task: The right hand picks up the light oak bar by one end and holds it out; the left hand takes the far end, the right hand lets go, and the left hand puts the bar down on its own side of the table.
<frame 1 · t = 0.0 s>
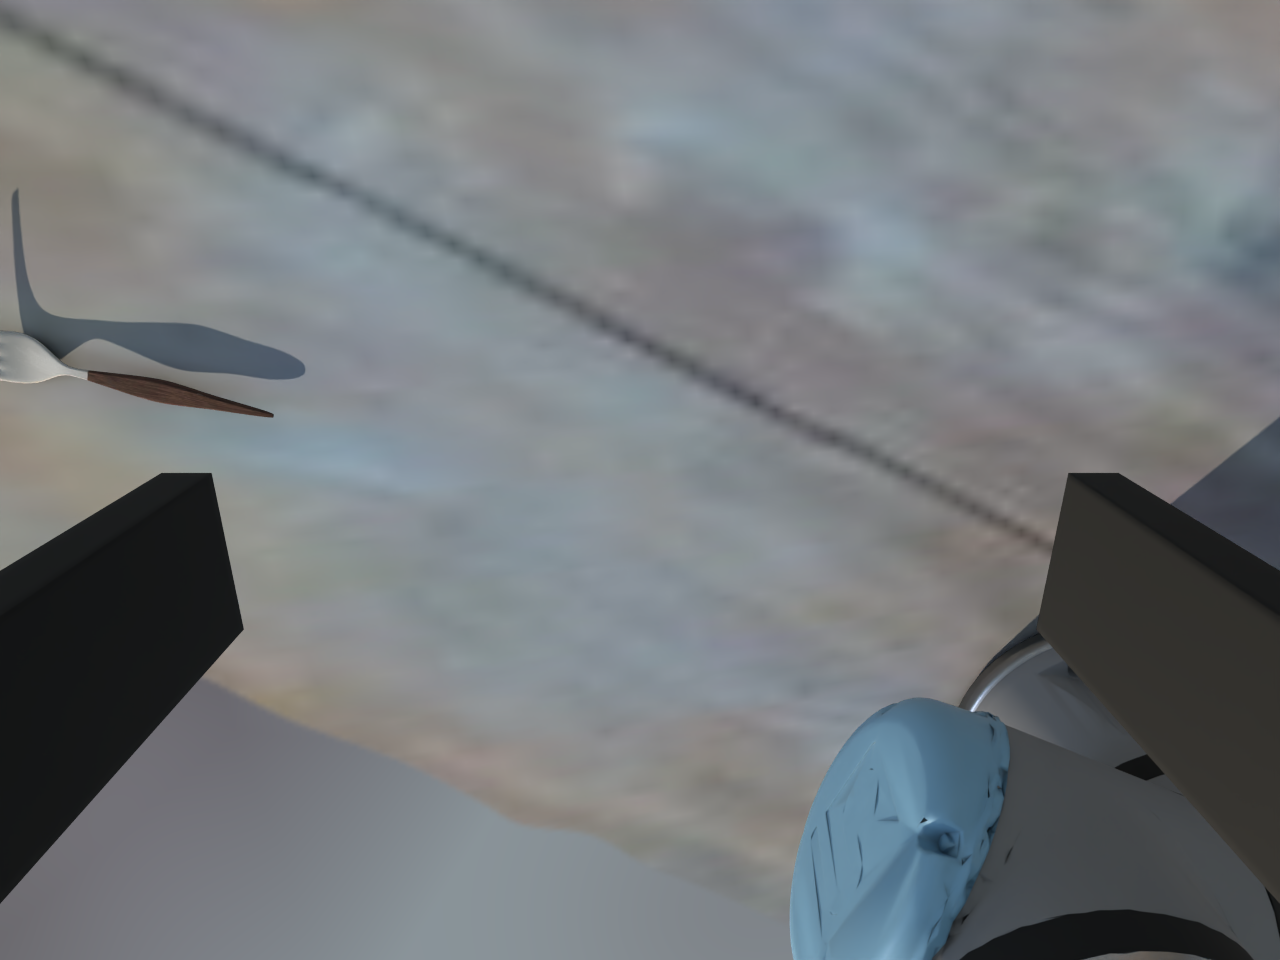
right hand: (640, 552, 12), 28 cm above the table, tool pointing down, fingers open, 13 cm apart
fork: (120, 377, 40), on the table
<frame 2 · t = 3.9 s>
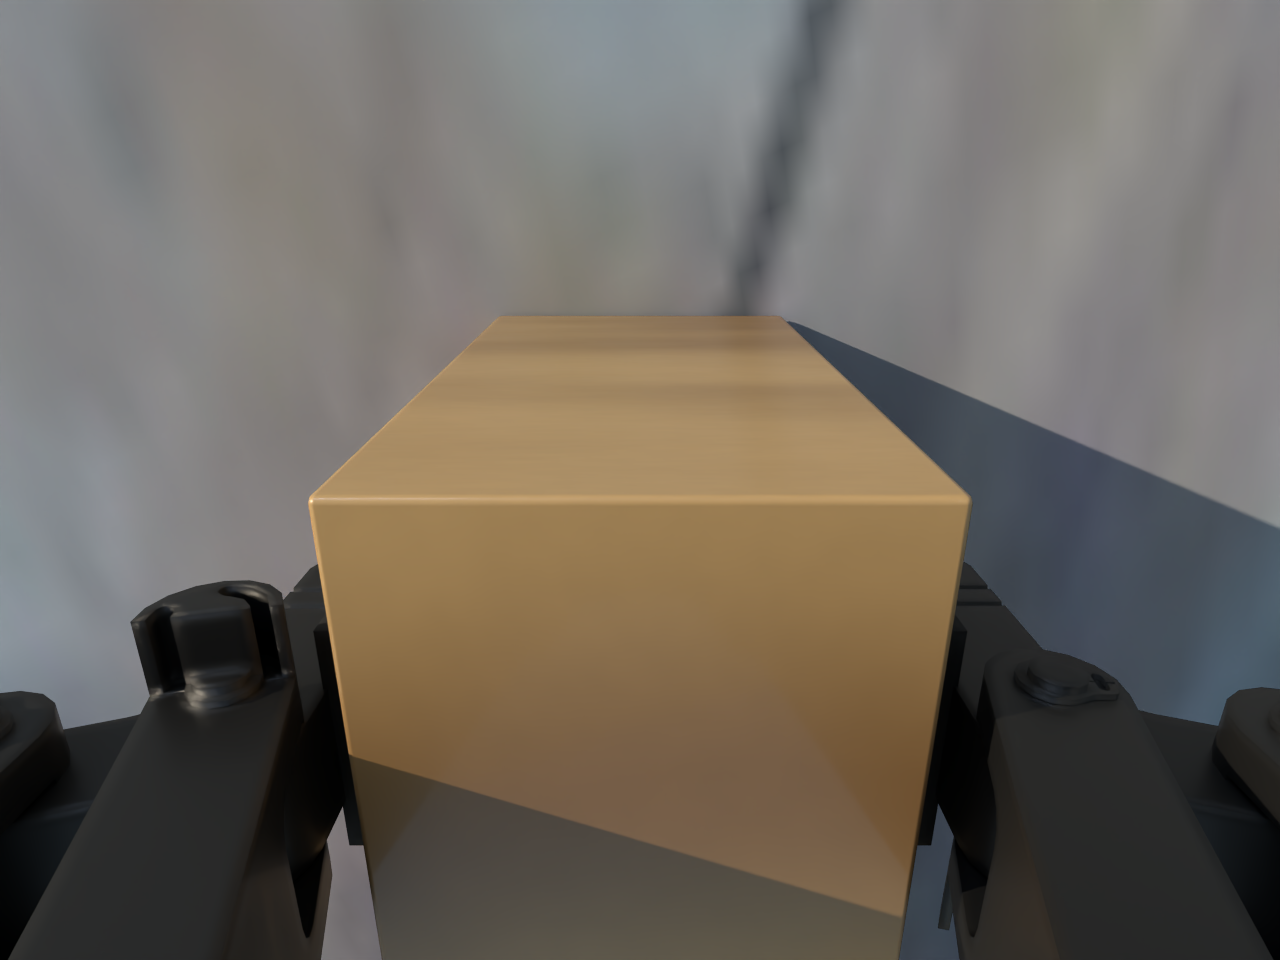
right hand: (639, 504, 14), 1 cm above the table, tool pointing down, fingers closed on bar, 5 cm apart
bar: (640, 830, 18), on the table, touching right hand
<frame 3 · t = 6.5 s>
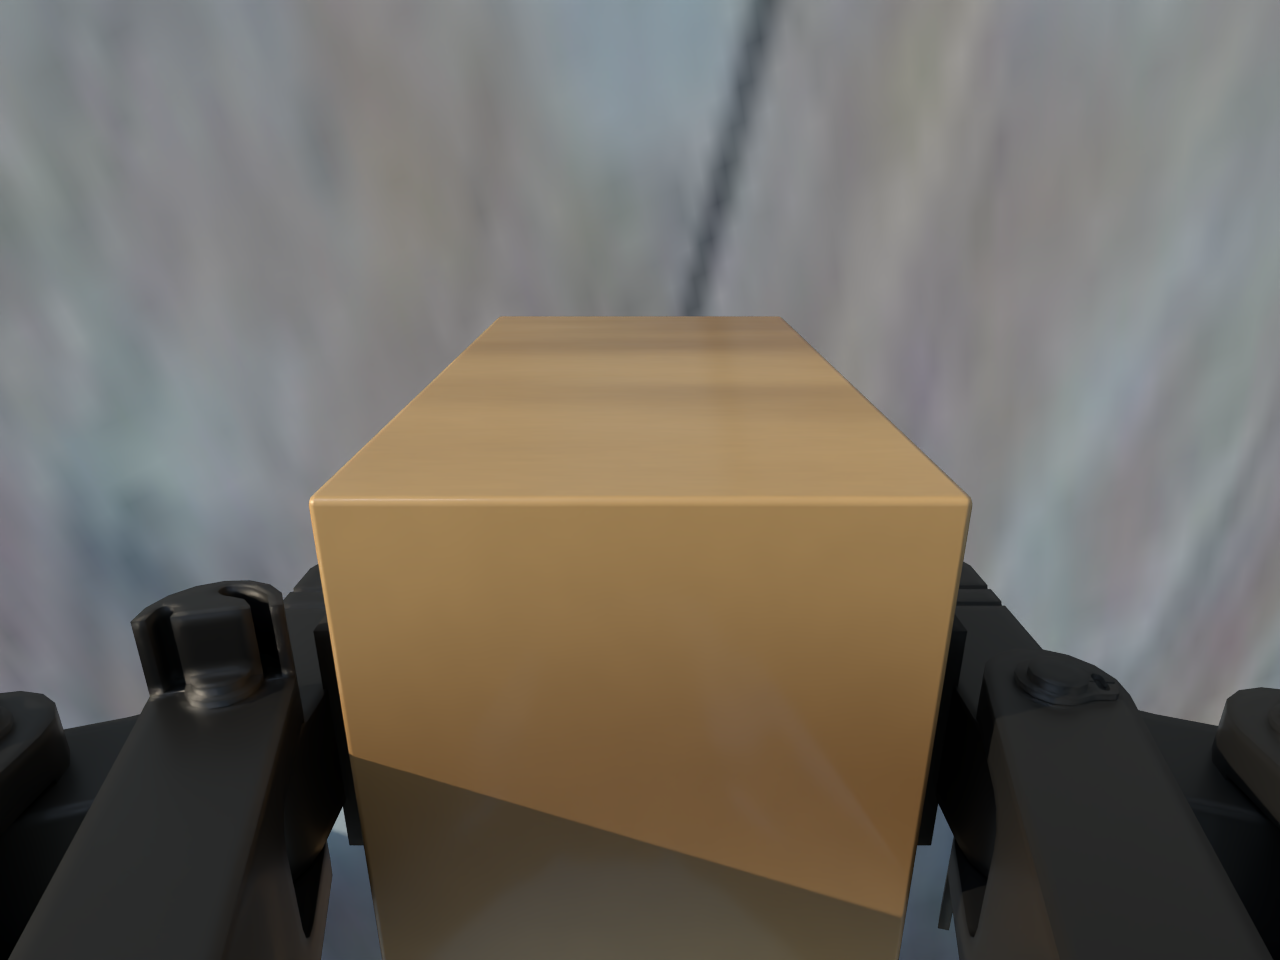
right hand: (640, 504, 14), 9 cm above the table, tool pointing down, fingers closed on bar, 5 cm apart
bar: (640, 830, 18), point 8 cm above the table, touching right hand
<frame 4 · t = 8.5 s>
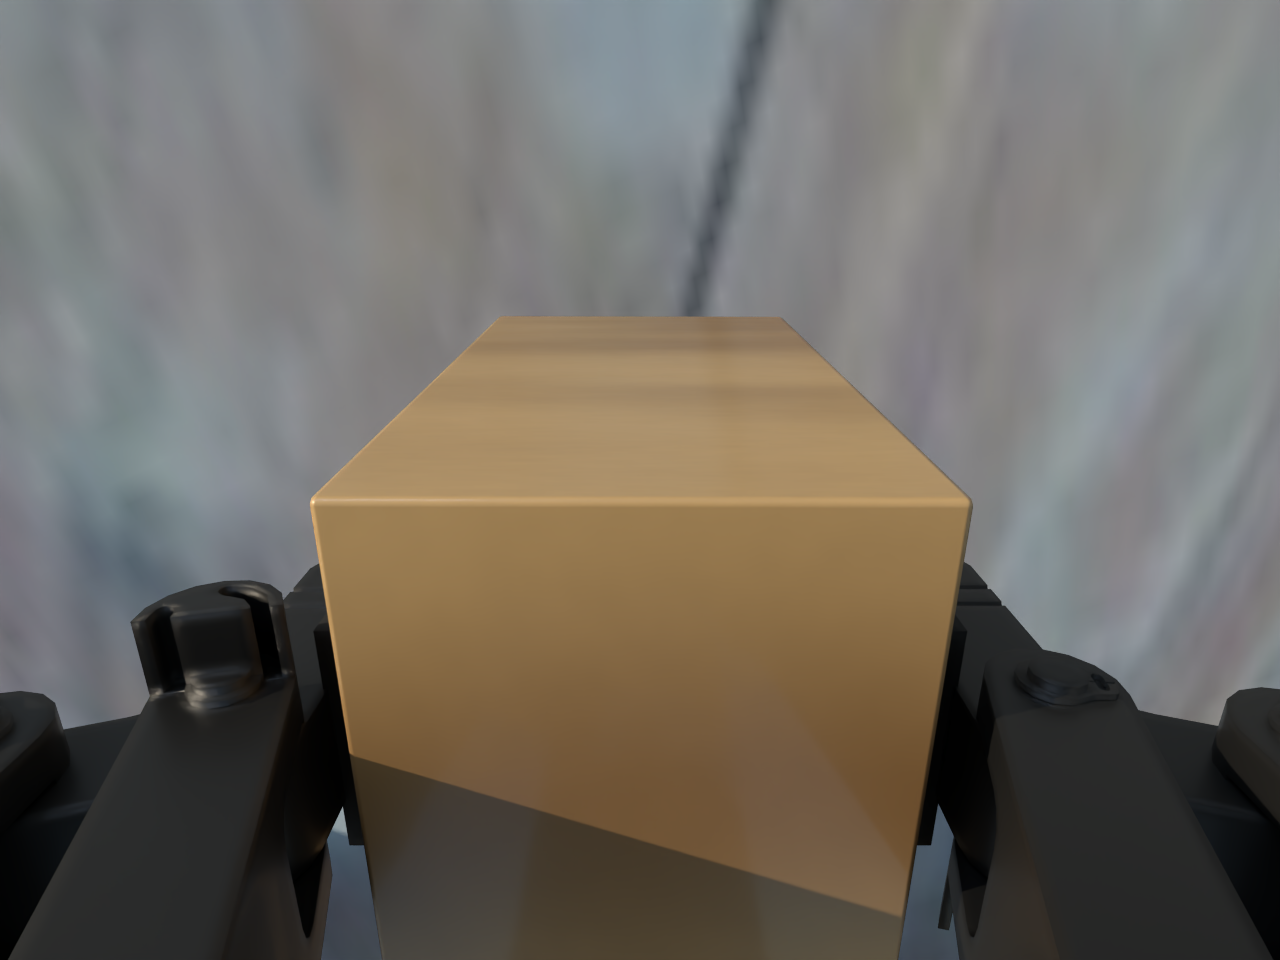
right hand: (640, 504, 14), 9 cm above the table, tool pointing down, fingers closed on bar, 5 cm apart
bar: (639, 830, 18), point 8 cm above the table, touching right hand, left hand
when the right hand's fingers open (9 cm above the table, at t = 9.1 s): bar stays where it is, held by the left hand.
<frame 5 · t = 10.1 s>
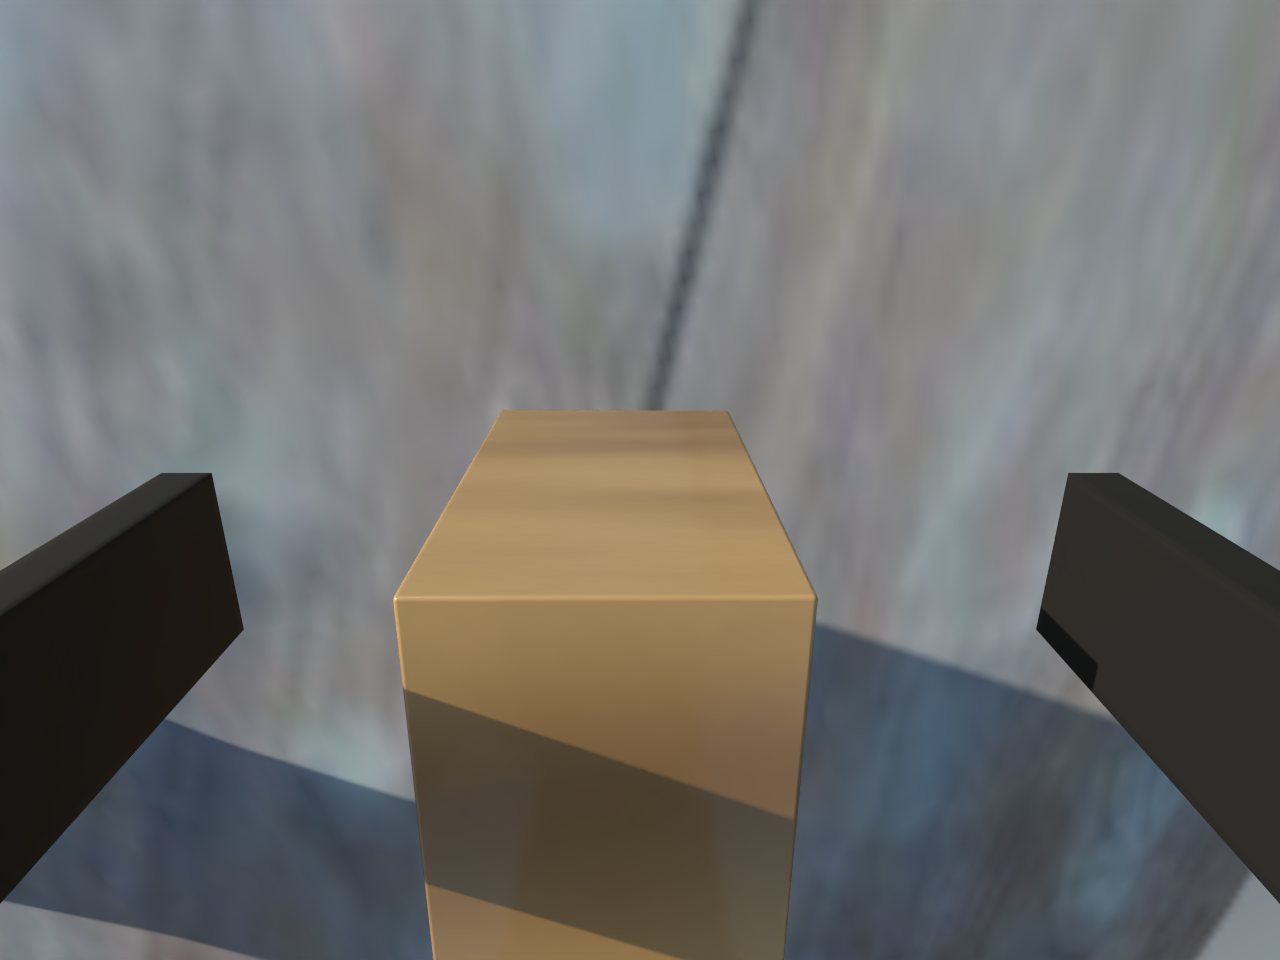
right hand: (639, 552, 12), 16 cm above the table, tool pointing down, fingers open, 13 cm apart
bar: (616, 829, 21), point 11 cm above the table, touching left hand
when the left hand's fingers open (2 cm above the table, at t = 16.0 s): bar drops 2 cm, on the table.
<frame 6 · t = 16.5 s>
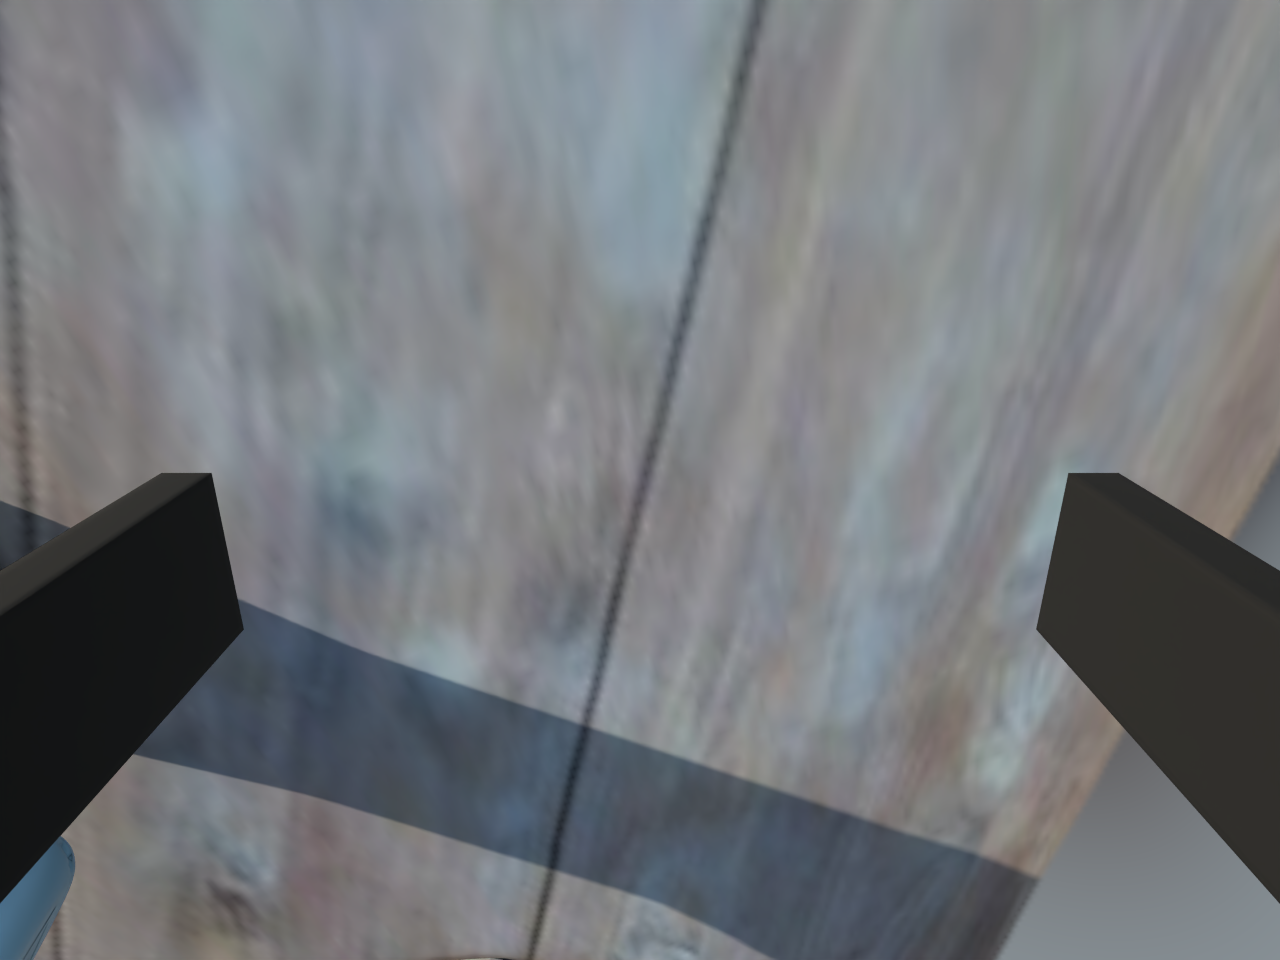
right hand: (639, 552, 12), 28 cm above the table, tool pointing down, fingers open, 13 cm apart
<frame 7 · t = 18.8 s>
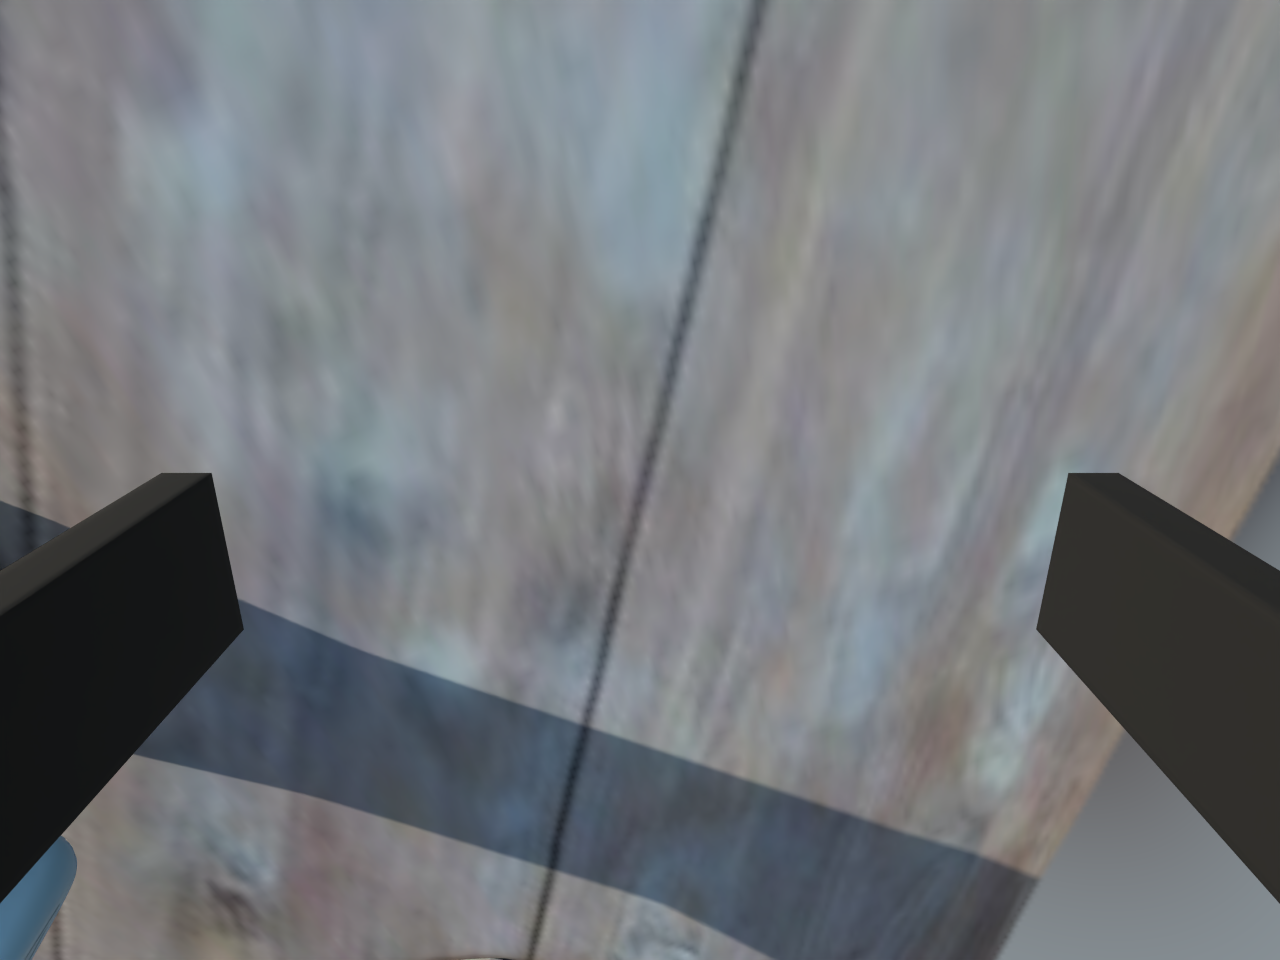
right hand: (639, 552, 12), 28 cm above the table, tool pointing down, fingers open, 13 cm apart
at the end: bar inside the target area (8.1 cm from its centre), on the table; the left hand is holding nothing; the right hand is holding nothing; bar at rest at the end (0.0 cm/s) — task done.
